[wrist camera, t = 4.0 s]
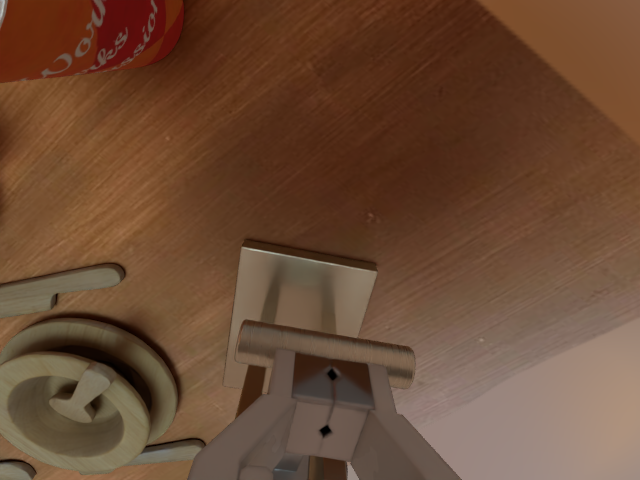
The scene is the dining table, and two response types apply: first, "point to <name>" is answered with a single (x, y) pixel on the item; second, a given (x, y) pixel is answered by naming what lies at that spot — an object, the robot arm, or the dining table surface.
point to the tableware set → (82, 385)
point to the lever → (264, 338)
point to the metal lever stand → (295, 312)
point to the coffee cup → (84, 36)
